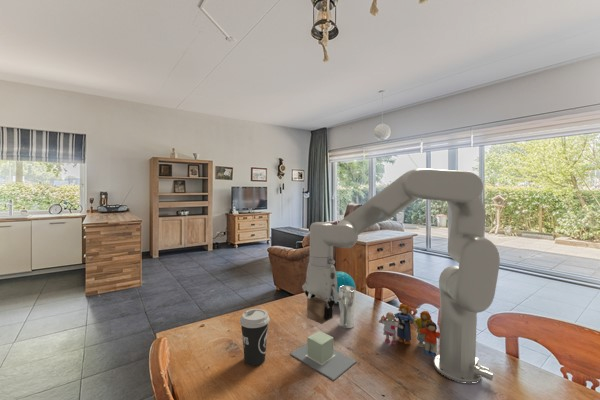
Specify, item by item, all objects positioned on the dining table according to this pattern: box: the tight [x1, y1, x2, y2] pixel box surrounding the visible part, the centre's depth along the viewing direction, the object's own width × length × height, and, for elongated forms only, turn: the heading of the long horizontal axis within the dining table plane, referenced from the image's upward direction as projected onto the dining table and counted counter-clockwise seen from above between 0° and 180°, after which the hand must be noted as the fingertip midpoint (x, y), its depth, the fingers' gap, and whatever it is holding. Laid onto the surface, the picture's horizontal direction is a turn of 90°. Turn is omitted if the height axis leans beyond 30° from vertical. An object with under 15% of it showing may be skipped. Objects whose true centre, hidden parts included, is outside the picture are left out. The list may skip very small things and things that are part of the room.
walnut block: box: [306, 296, 334, 325], centre depth 90 cm, size 6×6×6 cm
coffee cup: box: [239, 308, 271, 367], centre depth 88 cm, size 10×10×15 cm
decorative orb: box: [332, 270, 356, 305], centre depth 133 cm, size 15×15×15 cm
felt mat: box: [289, 342, 358, 381], centre depth 90 cm, size 18×12×1 cm, turn 46°
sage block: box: [307, 330, 334, 364], centre depth 90 cm, size 6×6×6 cm
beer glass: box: [338, 286, 357, 329], centre depth 111 cm, size 7×7×15 cm
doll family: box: [378, 303, 440, 358], centre depth 98 cm, size 21×10×13 cm, turn 60°
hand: (320, 314), depth 90 cm, fingers closed on walnut block, 6 cm apart
